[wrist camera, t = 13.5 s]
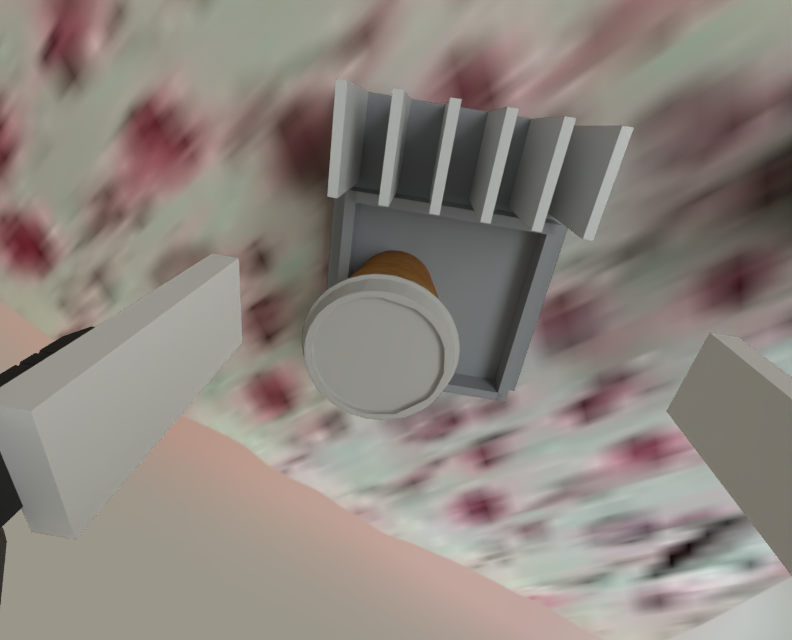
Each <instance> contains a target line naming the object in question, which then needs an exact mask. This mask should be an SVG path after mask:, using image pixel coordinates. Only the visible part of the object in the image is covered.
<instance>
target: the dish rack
mask: <svg viewBox="0 0 792 640" xmlns="http://www.w3.org/2000/svg"><path fill="white" fill-rule="evenodd" d="M461 100H462V99H456V98H450V99H449V100H448V102H447V103H446V105H444V104H438V103H432V102H425V101H419V100H413V99H411V98H410V97H409V95H408V94H407V93H406V91H405V90H402V89H395V88H393V93H392V96H389V95H383V94H377V93H371V92H367V91H366V90H364V89H362V88H360V87H358V86H356V85H355V84H353V83H351V82H349V81H347V80H341V79H336V86H335V100H334V113H333V126H332V140H331V153H330V167H329V180H328V194H327V197H333V198H334V205H333V218H332V230H331V242H330V255H329V267H328V279H327V290H328V289H329V288H331V287H332V286H333V285H335V284H337V283H339V282H341V281H343V280H345V279H347V278H349V277H350V276H352V275H353V274H354V273H355V272H356V271H357V270H358V269H359V268H360V267H361V266H363V265H364V264H365V263H366V262H367V261H368V260H369V259H370V258H371V257H373V256H375V255H376V254H379V253H382V252H385V251H391V250H393V251H403V252H406V253H409V254H411V255H413V256H415V257H416V258H418V259H419V260H420V261H421V262H422V263H423V264H424V265H425V266H426V268H427V270H428V272H429V273H430V276H431V279H432V282H433V285H434V287H435V290H436V292H437V295H438V298H439V300H440V301H441V302H442V304H443V305H444V306H445V308H446V309H447V310H448V312H449V313H450V314H451V316H452V319H453V321H454V323H455V326H456V329H457V332H458V337H459V346H460V352H459V359H458V364H457V367H456V370H455V372H454V375H453V377H452V379H451V380H450V382H449V383H448V385H447V386H446V387H445V388H444V389H443V391H444V392H450V393H456V394H462V395H468V396H474V397H480V398H486V399H491V400H497V401H503V402H505V399H506V396H507V393H508V390H512V391H514V390H515V387H516V384H517V381H518V378H519V375H520V372H521V369H522V366H523V363H524V359H525V356H526V353H527V350H528V347H529V344H530V341H531V338H532V335H533V332H534V329H535V326H536V323H537V320H538V317H539V314H540V311H541V308H542V305H543V302H544V299H545V296H546V293H547V290H548V287H549V283H550V280H551V277H552V274H553V271H554V268H555V265H556V262H557V259H558V256H559V253H560V250H561V247H562V244H563V241H564V238H565V235H566V232H567V229H568V228H569V229H570V230H571V231H573V232H574V233H575V234H577V235H578V236H579V237H581V238H582V239H585V240H591V241H593V240H594V237H595V234H596V231H597V228H598V226H599V223H600V220H601V217H602V215H603V212H604V209H605V206H606V203H607V201H608V198H609V195H610V192H611V190H612V187H613V184H614V181H615V179H616V176H617V173H618V170H619V167H620V165H621V162H622V159H623V156H624V154H625V151H626V148H627V145H628V142H629V140H630V137H631V134H632V131H633V129H634V128H633V127H627V126H574V124H575V121H576V118H572V117H566V116H562V117H549V118H536V119H529V118H523V117H517V115H518V111H519V109H517V108H511V107H505V108H501V109H497V110H493V111H490V112H486V111H480V110H474V109H468V108H462V107H460V105H461Z"/></svg>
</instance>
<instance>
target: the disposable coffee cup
mask: <svg viewBox="0 0 792 640" xmlns="http://www.w3.org/2000/svg"><path fill="white" fill-rule="evenodd" d="M302 347H303V354H304V358H305V363H306V366H307V370H308V373H309V376H310V377H311V379H312V381H313V382H314V384H315V386H316V387H317V389H318V390H319V391H320V392H321V393H322V394H323V395H324V396H325V397H326V398H327V399H328V400H329V401H330V402H331V403H332V404H334V405H336V406H337V407H339V408H341V409H343V410H345V411H346V412H348V413H350V414H353V415H356V416H360V417H363V418H367V419H375V420H386V419H397V418H403V417H406V416H409V415H412V414H415V413H417V412H419V411H420V410H422V409H424V408H426V407H427V406H428V405H430V404H431V403H432V402H433V401H434V400H435V399H436V398H437V397H438V396H439V395H440V394H441V392H442V391H443V389H444V388H445V387H446V386H447V385H448V383H449V382H450V380H451V379H452V377H453V375H454V372H455V370H456V367H457V364H458V359H459V352H460V346H459V337H458V332H457V329H456V326H455V323H454V321H453V319H452V316H451V314H450V313H449V312H448V310H447V309H446V308H445V306H444V305H443V304H442V302H441V301H440V300H439V298H438V295H437V292H436V290H435V287H434V285H433V282H432V279H431V276H430V273H429V272H428V270H427V268H426V266H425V265H424V264H423V263H422V262H421V261H420V260H419V259H418V258H416V257H415V256H413V255H411V254H409V253H406V252H403V251H393V250H391V251H385V252H382V253H379V254H376V255H375V256H373V257H371V258H370V259H369V260H368V261H367V262H366V263H365V264H364V265H363V266H361V267H360V268H359V269H358V270H357V271H356V272H355V273H354V274H353V275H352V276H350V277H349V278H347V279H345V280H343V281H341V282H339V283H337V284H335V285H333V286H332V287H331V288H329V289H328V290H327V291H326V292H324V293H323V294H322V295H321V296H320V297H319V298H318V299H317V301H316V302H315V303H314V305H313V306H312V307H311V309H310V311H309V313H308V315H307V317H306V319H305V323H304V327H303V331H302Z"/></svg>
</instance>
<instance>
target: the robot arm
mask: <svg viewBox="0 0 792 640" xmlns="http://www.w3.org/2000/svg"><path fill="white" fill-rule="evenodd" d="M241 344H242V322H241V300H240V277H239V258H235V257H229V256H223V255H216V254H211V255H209V256H207V257H206V258H204V259H203V260H201V261H200V262H198V263H196V264H195V265H193V266H192V267H190V268H188V269H187V270H185V271H184V272H182V273H181V274H179V275H177V276H176V277H174V278H173V279H171V280H169V281H168V282H166V283H165V284H163V285H162V286H160V287H158V288H157V289H155V290H154V291H152V292H150V293H149V294H147V295H146V296H144V297H143V298H141V299H139V300H138V301H136V302H135V303H133V304H131V305H130V306H128V307H127V308H125V309H123V310H122V311H120V312H119V313H117V314H116V315H114V316H112V317H111V318H109V319H108V320H106V321H104V322H103V323H101V324H100V325H98V326H97V327H89V328H86V329H83V330H80V331H77V332H74V333H71V334H69V335H66V336H63V337H61V338H59V339H58V340H56V341H54V342H53V343H51V344H49V345H48V346H46V347H44V348H43V349H41V350H40V352H39V354H37V353H35V354H33V355H31V356H30V357H28V358H26V359H25V360H23V361H21V362H20V365H19V366H17V365H15V366H13V367H11V368H10V369H8V370H6V371H5V372H3V373H1V374H0V603H1V593H2V583H3V573H4V563H5V553H6V543H7V541H6V537H5V533H4V530H3V528H2V526H3V525H4V524H5V523H6V522H7V521H8V520H9V519H10V518H11V517H13V516H14V515H15V514H16V513H17V512H18V511H19V510H20V509H22V511H23V513H24V516H25V518H26V521H27V523H28V525H29V528H30V530H31V532H35V533H40V534H46V535H52V536H58V537H63V538H69V539H77V537H78V536H79V535H80V534H81V533H82V532H83V530H84V529H85V528H86V527H87V525H88V524H89V523H90V522H91V521H92V520H93V519H94V517H95V516H96V515H97V514H98V513H99V511H100V510H101V509H102V508H103V507H104V506H105V504H106V503H107V502H108V501H109V500H110V498H111V497H112V496H113V495H114V494H115V493H116V491H117V490H118V489H119V488H120V487H121V485H122V484H123V483H124V482H125V481H126V480H127V478H128V477H129V476H130V475H131V474H132V472H133V471H134V470H135V469H136V468H137V467H138V465H139V464H140V463H141V462H142V461H143V459H144V458H145V457H146V456H147V455H148V453H149V452H150V451H151V450H152V449H153V448H154V446H155V445H156V444H157V443H158V442H159V441H160V439H161V438H162V437H163V436H164V435H165V433H166V432H167V431H168V430H169V429H170V427H171V426H172V425H173V424H174V423H175V422H176V420H177V419H178V418H179V417H180V416H181V414H182V413H183V412H184V411H185V410H186V409H187V407H188V406H189V405H190V404H191V403H192V401H193V400H194V399H195V398H196V397H197V396H198V394H199V393H200V392H201V391H202V390H203V388H204V387H205V386H206V385H207V384H208V383H209V381H210V380H211V379H212V378H213V377H214V375H215V374H216V373H217V372H218V371H219V370H220V368H221V367H222V366H223V365H224V364H225V362H226V361H227V360H228V359H229V358H230V357H231V355H232V354H233V353H234V352H235V351H236V349H237V348H238V347H239V346H240V345H241ZM667 413H668V414H669V415H670V417H671V418H672V419H673V420H674V422H675V423H676V424H677V426H678V427H679V428H680V430H681V431H682V432H683V434H684V435H685V436H686V438H687V439H688V440H689V441H690V443H691V444H692V445H693V447H694V448H695V449H696V451H697V452H698V453H699V455H700V456H701V457H702V459H703V460H704V461H705V462H706V464H707V465H708V466H709V468H710V469H711V470H712V472H713V473H714V474H715V476H716V477H717V478H718V480H719V481H720V482H721V484H722V485H723V486H724V487H725V489H726V490H727V491H728V493H729V494H730V495H731V497H732V498H733V499H734V501H735V502H736V503H737V505H738V506H739V507H740V508H741V510H742V511H743V512H744V514H745V515H746V516H747V518H748V519H749V520H750V522H751V523H752V524H753V526H754V527H755V528H756V529H757V531H758V532H759V533H760V535H761V536H762V537H763V539H764V540H765V541H766V543H767V544H768V545H769V547H770V548H771V549H772V551H773V552H774V553H775V554H776V556H777V557H778V558H779V560H780V561H781V562H782V564H783V565H784V566H785V568H786V569H787V570H788V572H789V573H790V574H791V575H792V377H791V376H789V375H788V374H787V373H785V372H784V371H783V370H781V369H780V368H779V367H777V366H776V365H775V364H773V363H772V362H771V361H769V360H768V359H767V358H765V357H764V356H763V355H761V354H760V353H759V352H757V351H756V350H755V349H753V348H752V347H751V346H749V345H748V344H747V343H745V342H744V341H743V340H741V339H740V338H739V337H735V336H729V335H722V334H716V333H709V335H708V337H707V339H706V341H705V342H704V344H703V346H702V348H701V350H700V352H699V353H698V355H697V357H696V359H695V361H694V362H693V364H692V366H691V368H690V370H689V371H688V373H687V375H686V377H685V379H684V381H683V382H682V384H681V386H680V388H679V390H678V391H677V393H676V395H675V397H674V399H673V401H672V402H671V404H670V406H669V408H668V410H667Z"/></svg>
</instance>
